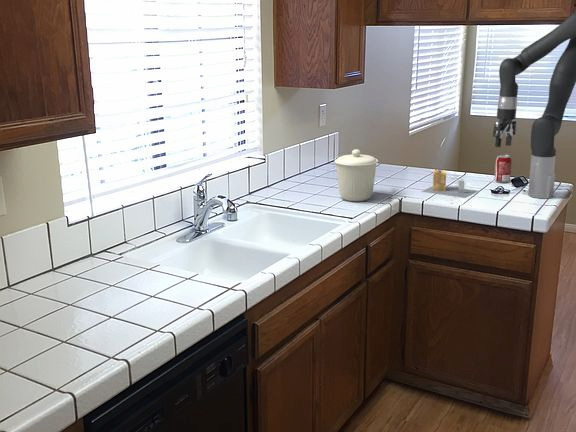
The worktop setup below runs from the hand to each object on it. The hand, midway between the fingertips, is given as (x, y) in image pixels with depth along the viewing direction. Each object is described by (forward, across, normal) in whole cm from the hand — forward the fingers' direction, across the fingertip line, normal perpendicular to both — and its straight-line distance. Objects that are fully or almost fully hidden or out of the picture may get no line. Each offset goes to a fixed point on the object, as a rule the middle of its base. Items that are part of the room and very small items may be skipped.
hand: (503, 146), depth 269 cm
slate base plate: (+21, -18, +13) cm, 30 cm away
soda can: (+19, +18, +8) cm, 27 cm away
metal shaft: (+19, -17, +8) cm, 27 cm away
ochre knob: (+19, -18, +18) cm, 32 cm away
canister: (+23, -49, +38) cm, 66 cm away
